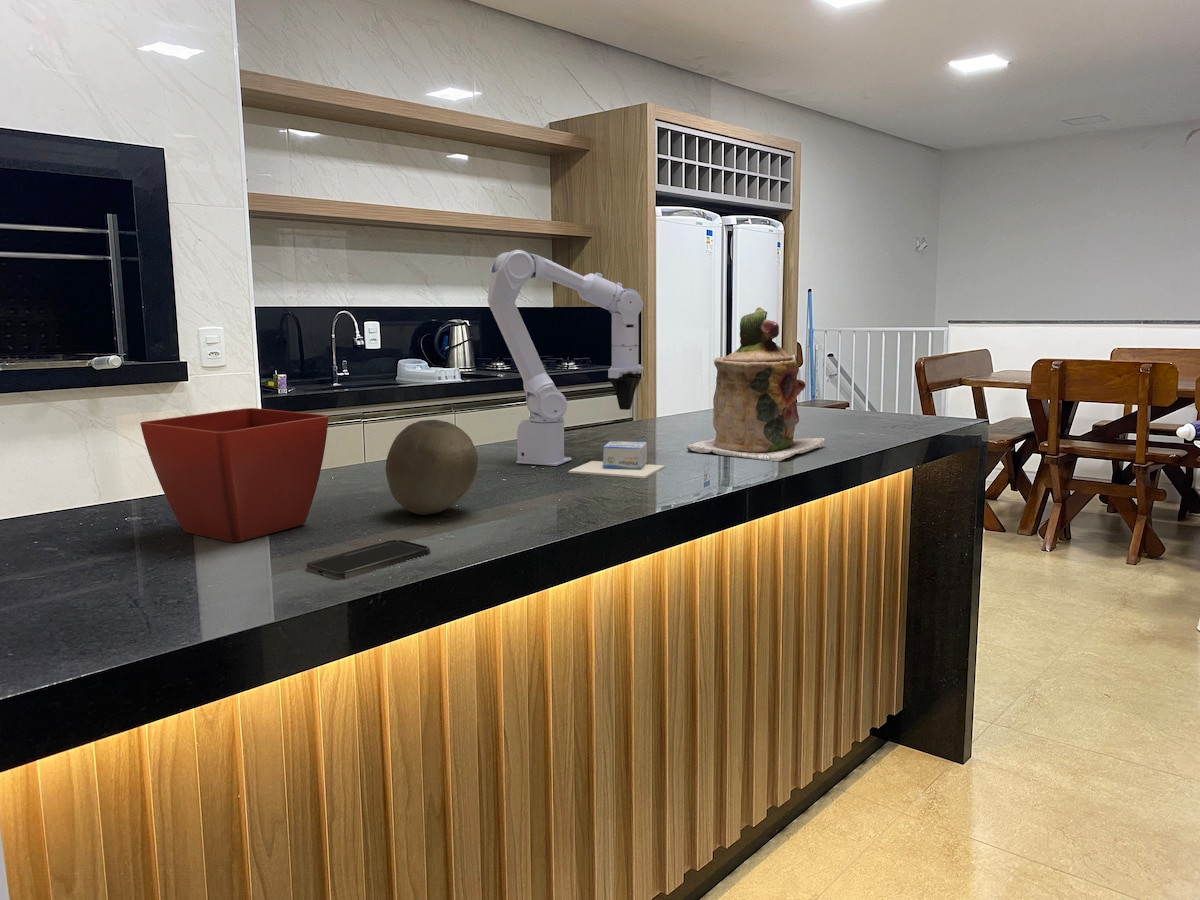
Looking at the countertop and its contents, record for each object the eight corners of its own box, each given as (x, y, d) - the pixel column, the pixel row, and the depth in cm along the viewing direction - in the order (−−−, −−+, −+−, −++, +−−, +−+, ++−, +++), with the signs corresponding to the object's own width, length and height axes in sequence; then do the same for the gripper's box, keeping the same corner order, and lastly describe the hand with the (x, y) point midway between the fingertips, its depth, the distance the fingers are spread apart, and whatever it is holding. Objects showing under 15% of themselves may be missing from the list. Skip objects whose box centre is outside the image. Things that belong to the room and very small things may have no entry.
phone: (433, 547, 121) (340, 574, 110) (433, 555, 121) (340, 583, 110) (395, 538, 126) (302, 563, 114) (396, 546, 126) (302, 571, 115)
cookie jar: (681, 452, 201) (682, 307, 196) (731, 438, 221) (733, 306, 216) (785, 463, 187) (789, 307, 182) (828, 447, 207) (833, 306, 202)
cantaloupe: (402, 528, 135) (397, 429, 132) (379, 509, 147) (374, 418, 145) (490, 517, 141) (488, 422, 139) (461, 500, 154) (458, 413, 151)
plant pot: (229, 553, 122) (219, 430, 119) (146, 535, 132) (136, 421, 129) (338, 523, 138) (332, 414, 135) (257, 509, 148) (250, 407, 145)
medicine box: (647, 441, 186) (641, 447, 177) (647, 462, 186) (641, 469, 178) (609, 440, 187) (602, 446, 179) (609, 461, 188) (602, 468, 179)
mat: (568, 472, 178) (568, 470, 177) (592, 462, 188) (592, 460, 188) (644, 478, 171) (644, 476, 171) (664, 467, 182) (664, 465, 182)
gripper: (630, 347, 183) (630, 413, 185) (654, 344, 196) (653, 406, 199) (598, 347, 186) (599, 412, 188) (623, 344, 199) (624, 405, 201)
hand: (625, 409), depth 193 cm, fingers closed
